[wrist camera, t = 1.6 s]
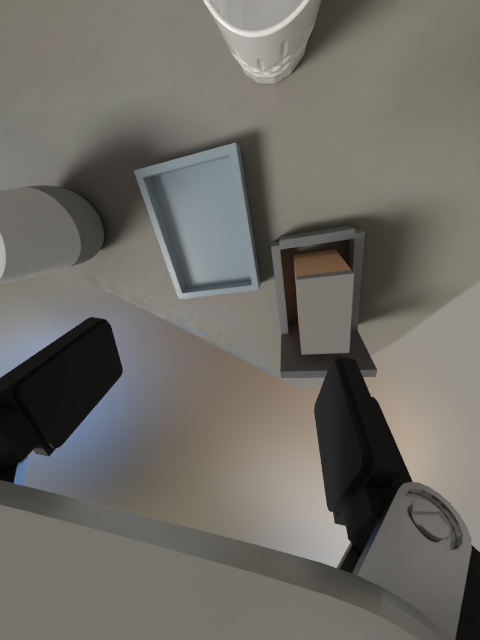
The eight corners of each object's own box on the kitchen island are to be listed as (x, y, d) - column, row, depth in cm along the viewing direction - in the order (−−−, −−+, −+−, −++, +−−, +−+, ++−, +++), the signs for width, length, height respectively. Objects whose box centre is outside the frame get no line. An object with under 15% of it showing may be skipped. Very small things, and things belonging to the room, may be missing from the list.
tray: (239, 146, 24) (235, 142, 22) (260, 283, 31) (258, 290, 29) (145, 171, 27) (133, 170, 25) (185, 291, 34) (178, 299, 32)
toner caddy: (335, 248, 28) (354, 273, 20) (334, 312, 32) (349, 352, 24) (293, 254, 29) (296, 280, 21) (297, 315, 33) (301, 354, 26)
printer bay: (359, 223, 26) (395, 243, 17) (352, 326, 32) (375, 376, 24) (271, 237, 28) (265, 261, 20) (282, 330, 35) (281, 377, 26)
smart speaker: (83, 172, 28) (-64, 165, 16) (125, 245, 32) (31, 281, 20) (34, 201, 31) (-119, 213, 19) (78, 264, 35) (-26, 305, 23)
